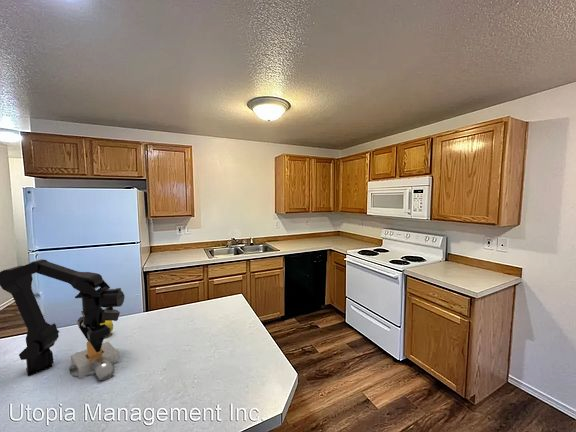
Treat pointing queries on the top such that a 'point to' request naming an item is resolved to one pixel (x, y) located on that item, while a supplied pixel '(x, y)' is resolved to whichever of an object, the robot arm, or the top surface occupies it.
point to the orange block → (92, 350)
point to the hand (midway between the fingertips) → (94, 347)
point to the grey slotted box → (95, 363)
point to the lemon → (108, 324)
